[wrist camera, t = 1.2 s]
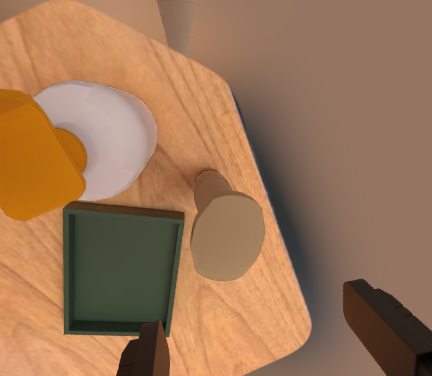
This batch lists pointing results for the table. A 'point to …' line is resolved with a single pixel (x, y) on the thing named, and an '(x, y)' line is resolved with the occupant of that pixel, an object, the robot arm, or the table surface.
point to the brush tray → (119, 268)
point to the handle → (224, 229)
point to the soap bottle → (70, 145)
